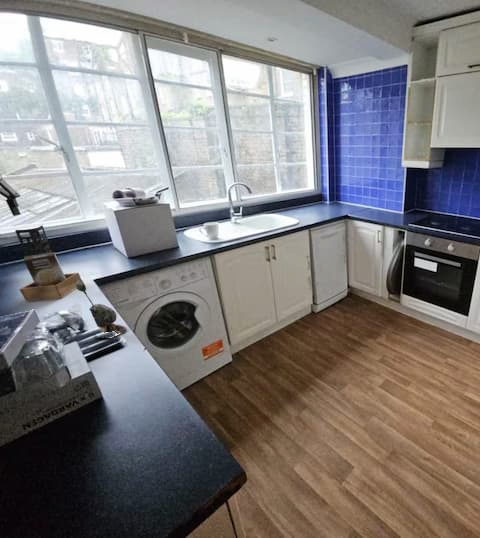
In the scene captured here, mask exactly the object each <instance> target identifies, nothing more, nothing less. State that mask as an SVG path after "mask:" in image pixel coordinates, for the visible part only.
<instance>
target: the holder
mask: <svg viewBox="0 0 480 538" xmlns="http://www.w3.org/2000/svg"><path fill="white" fill-rule="evenodd" d="M41 230H42V233H40V231H41ZM26 233H29V236H21V234H26ZM15 234H16V236H17V239H18V242H19V243H20V246H21V248H22V251H23V253H24V255H25V257H27V256H30V255H29V253H31V254H32V256H33V255H39V254H45V253H51V252H53V251H52V248H51V245H50V243H49V240H48V237H47V233H46V231H45V227H44V225H42V224H41V225H39V226H38V227H34V228H27V229H16V230H15ZM24 240H26V243H25V242H24ZM31 241H32V242H31ZM45 243H46V244H47V245H45ZM28 246H33V247H34V248H32V249H27V247H28ZM36 253H37V254H36Z"/></svg>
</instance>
